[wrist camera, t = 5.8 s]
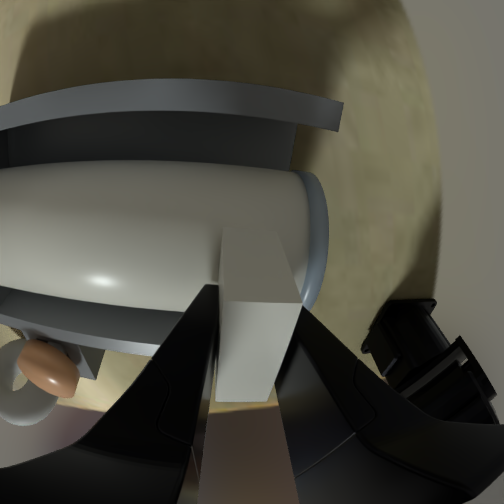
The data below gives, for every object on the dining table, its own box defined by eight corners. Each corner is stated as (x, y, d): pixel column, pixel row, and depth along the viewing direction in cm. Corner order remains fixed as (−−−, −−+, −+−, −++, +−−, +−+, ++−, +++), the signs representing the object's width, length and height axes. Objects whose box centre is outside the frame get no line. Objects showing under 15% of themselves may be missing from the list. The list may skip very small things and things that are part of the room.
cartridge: (295, 158, 13) (400, 260, 5) (273, 264, 16) (313, 410, 8) (10, 155, 10) (-100, 227, 2) (25, 246, 13) (-48, 342, 5)
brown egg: (87, 302, 15) (58, 367, 11) (101, 344, 18) (83, 403, 13) (39, 294, 15) (6, 350, 10) (57, 335, 17) (34, 388, 12)
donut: (16, 346, 20) (-13, 413, 12) (2, 326, 19) (-32, 395, 10) (78, 360, 21) (53, 445, 13) (65, 338, 20) (32, 428, 11)
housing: (296, 101, 12) (343, 102, 7) (250, 341, 21) (258, 406, 16) (7, 111, 9) (-58, 131, 4) (50, 319, 18) (25, 371, 13)
